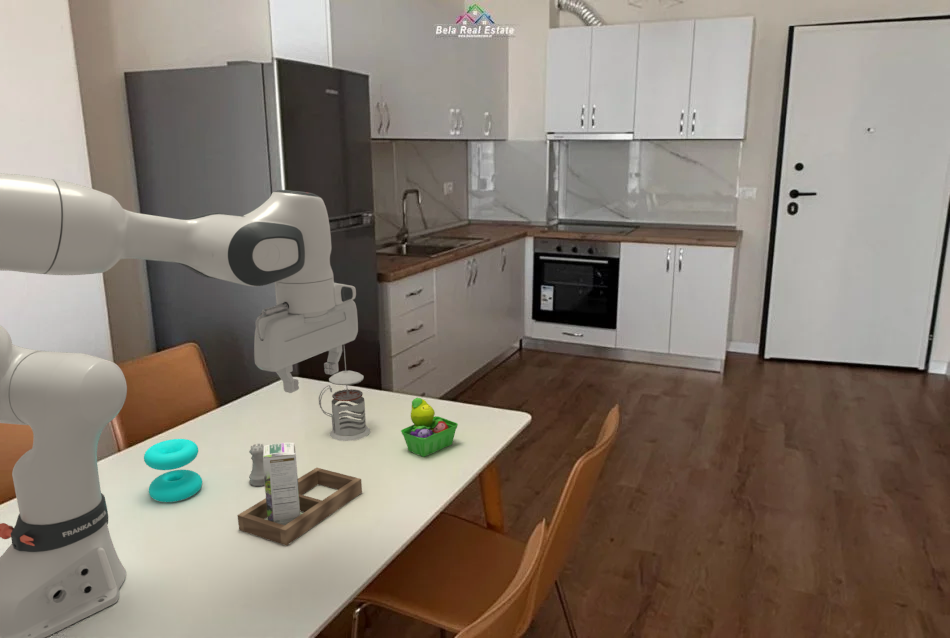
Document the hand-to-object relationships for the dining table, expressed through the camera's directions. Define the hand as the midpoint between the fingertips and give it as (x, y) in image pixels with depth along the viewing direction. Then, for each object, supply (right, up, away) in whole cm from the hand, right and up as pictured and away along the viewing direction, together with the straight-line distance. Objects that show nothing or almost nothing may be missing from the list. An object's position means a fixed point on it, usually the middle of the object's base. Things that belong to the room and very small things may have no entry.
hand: (312, 381), depth 114 cm
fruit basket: (+15, -19, +50) cm, 55 cm away
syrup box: (-9, -28, +18) cm, 34 cm away
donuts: (-34, -25, +31) cm, 53 cm away
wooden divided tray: (-7, -26, +23) cm, 36 cm away
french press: (-5, -18, +58) cm, 61 cm away
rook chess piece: (-18, -24, +35) cm, 46 cm away
